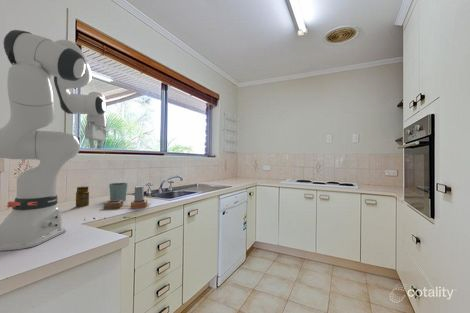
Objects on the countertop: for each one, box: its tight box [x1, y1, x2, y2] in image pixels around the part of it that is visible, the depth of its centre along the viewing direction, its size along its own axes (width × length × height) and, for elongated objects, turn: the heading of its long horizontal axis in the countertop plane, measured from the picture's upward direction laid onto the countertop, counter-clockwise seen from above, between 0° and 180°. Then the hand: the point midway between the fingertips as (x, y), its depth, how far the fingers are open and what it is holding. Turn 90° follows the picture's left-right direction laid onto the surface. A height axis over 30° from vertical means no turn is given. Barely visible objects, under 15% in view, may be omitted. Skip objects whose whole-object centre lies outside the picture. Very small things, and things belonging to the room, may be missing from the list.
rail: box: [99, 198, 151, 211], centre depth 121 cm, size 12×24×4 cm, turn 104°
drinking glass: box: [108, 182, 128, 202], centre depth 137 cm, size 10×10×12 cm
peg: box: [134, 185, 145, 202], centre depth 123 cm, size 4×4×11 cm
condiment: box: [75, 185, 90, 208], centre depth 121 cm, size 7×8×12 cm
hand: (95, 148), depth 119 cm, fingers open, 8 cm apart
